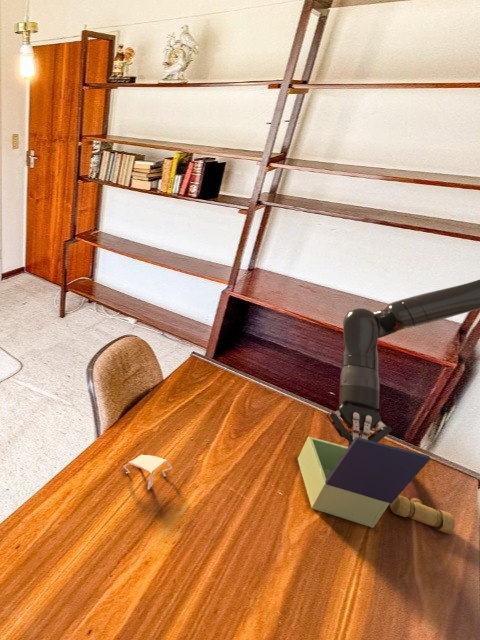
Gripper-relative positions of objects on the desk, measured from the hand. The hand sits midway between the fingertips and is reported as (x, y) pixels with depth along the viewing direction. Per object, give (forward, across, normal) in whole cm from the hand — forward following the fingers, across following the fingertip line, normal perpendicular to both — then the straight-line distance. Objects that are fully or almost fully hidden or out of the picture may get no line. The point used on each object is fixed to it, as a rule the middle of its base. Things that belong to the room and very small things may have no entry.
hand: (356, 459), depth 93 cm
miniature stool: (+18, +45, -2) cm, 48 cm away
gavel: (+3, -18, -17) cm, 25 cm away
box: (+8, 0, -12) cm, 14 cm away
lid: (+2, 0, +7) cm, 7 cm away
